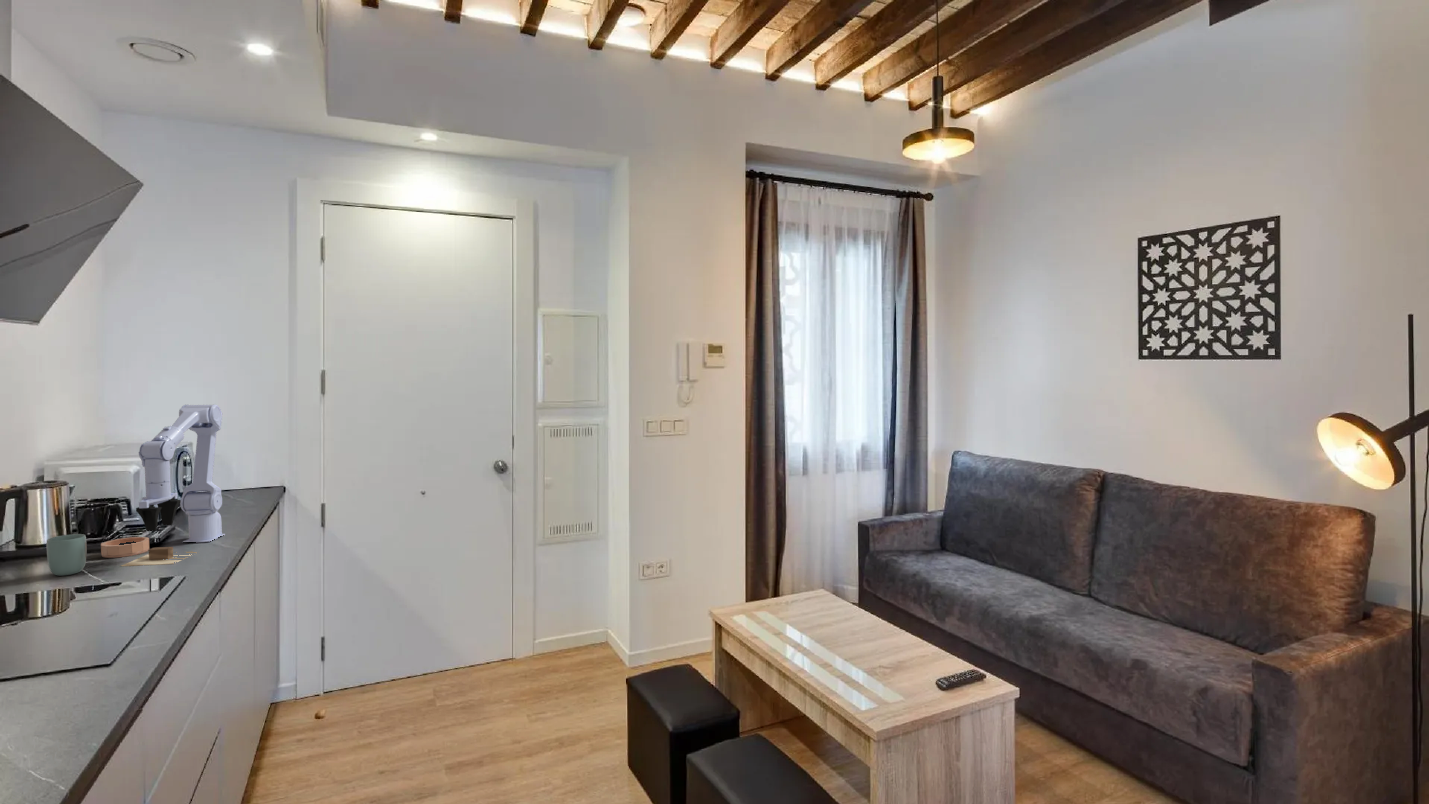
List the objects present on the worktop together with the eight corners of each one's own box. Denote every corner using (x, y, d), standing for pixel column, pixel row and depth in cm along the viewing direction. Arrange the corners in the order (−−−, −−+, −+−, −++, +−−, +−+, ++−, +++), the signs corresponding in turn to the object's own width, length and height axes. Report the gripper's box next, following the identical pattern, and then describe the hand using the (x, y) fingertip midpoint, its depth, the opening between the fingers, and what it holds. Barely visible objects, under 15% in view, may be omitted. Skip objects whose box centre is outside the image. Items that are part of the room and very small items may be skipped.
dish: (117, 548, 213) (117, 537, 213) (157, 547, 215) (157, 536, 215) (92, 558, 202) (91, 546, 202) (134, 556, 204) (134, 545, 204)
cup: (55, 571, 190) (54, 535, 189) (92, 568, 193) (90, 532, 192) (42, 579, 182) (40, 542, 182) (80, 575, 186) (78, 539, 185)
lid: (150, 556, 208) (149, 543, 207) (199, 553, 210) (199, 541, 210) (119, 569, 194) (119, 555, 194) (173, 566, 197) (172, 553, 197)
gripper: (158, 478, 207) (159, 522, 208) (125, 486, 193) (128, 534, 194) (184, 477, 209) (186, 522, 209) (154, 485, 194) (156, 533, 195)
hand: (159, 527), depth 202 cm, fingers open, 7 cm apart
